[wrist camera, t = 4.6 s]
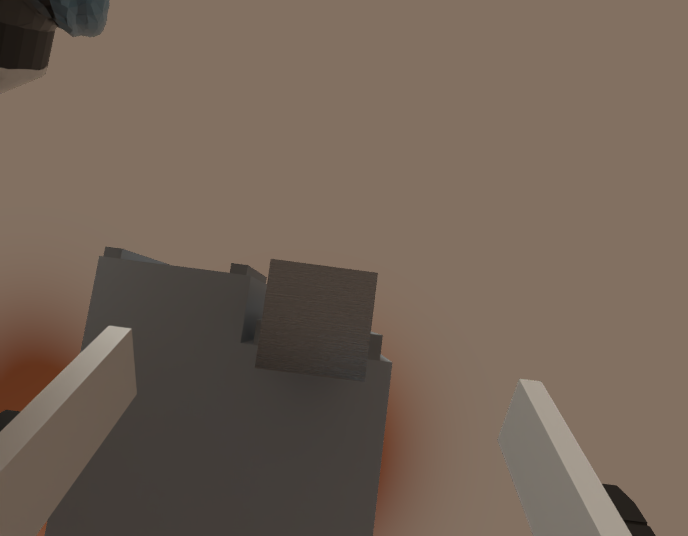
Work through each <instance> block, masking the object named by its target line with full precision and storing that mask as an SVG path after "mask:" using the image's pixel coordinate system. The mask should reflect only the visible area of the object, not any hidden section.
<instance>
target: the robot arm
mask: <svg viewBox="0 0 688 536" xmlns="http://www.w3.org/2000/svg"><path fill="white" fill-rule="evenodd" d="M108 9H109V0H0V94H1V93H4V92H6V91H8V90H11V89H13V88H16V87H18V86H21V85H23V84H26V83H28V82H30V81H33V80H35V79H38V78H40V77H42V76H43V75H44V74H45V73H46V70H47V66H48V62H49V57H50V52H51V47H52V42H53V38H54V33H55V29H56V28H57V27H59V28H61V29H63V30H65V31H66V32H67V33H69V34H70V35H71V36H72V37H76V36H80V35H82V36H88V37H95V36H97V35H100V34H101V32H102V31H103V30H104V27H105V25H106V20H107V13H108ZM136 395H137V388H136V376H135V363H134V351H133V338H132V328H124V327H116V326H108V327H107V328H106V329H105V330H104V331H103V332H102V333H101V334H100V335H99V336H98V337H97V338H96V339H95V340H93V341H92V342H91V343H90V344H89V345H88V346H87V347H86V348H85V349H84V350H83V351H82V352H81V353H80V354H79V355H78V356H77V357H76V358H75V359H74V360H73V361H72V362H71V363H70V364H69V365H68V366H67V367H66V368H65V369H64V370H63V371H62V372H61V373H60V374H59V375H58V376H57V377H56V378H55V379H54V380H53V381H52V382H51V383H50V384H49V385H48V386H47V387H46V388H45V389H43V390H42V391H41V392H40V393H39V394H38V395H37V396H36V397H35V398H34V399H33V400H32V401H31V402H30V403H29V404H28V405H27V406H26V407H25V408H24V409H23V410H22V411H21V412H19V411H11V410H5V411H3V412H1V413H0V536H36V535H37V533H38V532H39V531H40V529H41V528H42V527H43V525H44V524H45V522H46V521H47V520H48V518H49V517H50V515H51V514H52V513H53V511H54V510H55V508H56V507H57V506H58V504H59V503H60V501H61V500H62V499H63V497H64V496H65V494H66V493H67V492H68V490H69V489H70V487H71V486H72V485H73V483H74V482H75V480H76V479H77V477H78V476H79V475H80V473H81V472H82V470H83V469H84V468H85V466H86V465H87V463H88V462H89V461H90V459H91V458H92V456H93V455H94V454H95V452H96V451H97V449H98V448H99V447H100V445H101V444H102V442H103V441H104V440H105V438H106V437H107V435H108V434H109V432H110V431H111V430H112V428H113V427H114V425H115V424H116V423H117V421H118V420H119V418H120V417H121V416H122V414H123V413H124V411H125V410H126V409H127V407H128V406H129V404H130V403H131V402H132V400H133V399H134V397H135V396H136ZM497 440H498V443H499V446H500V448H501V451H502V454H503V456H504V459H505V462H506V464H507V467H508V470H509V472H510V475H511V478H512V481H513V483H514V486H515V488H516V491H517V494H518V497H519V499H520V502H521V505H522V507H523V510H524V512H525V515H526V518H527V521H528V523H529V526H530V529H531V531H532V534H533V536H655V534H654V532H653V531H652V529H651V528H650V527H649V526H647V522H646V520H645V518H644V517H643V515H642V514H641V512H640V511H639V509H638V508H637V506H636V504H635V503H634V502H633V501H632V500H631V499H630V498H629V497H628V496H627V495H626V494H625V493H624V492H623V491H622V490H621V489H620V488H619V487H618V486H615V485H607V484H601V482H600V480H599V479H598V477H597V475H596V473H595V472H594V470H593V469H592V467H591V465H590V463H589V462H588V460H587V458H586V456H585V455H584V453H583V451H582V450H581V448H580V446H579V445H578V443H577V441H576V440H575V438H574V436H573V435H572V433H571V431H570V429H569V428H568V426H567V424H566V423H565V421H564V419H563V417H562V416H561V414H560V413H559V411H558V409H557V407H556V406H555V404H554V402H553V401H552V399H551V397H550V396H549V394H548V392H547V390H546V389H545V387H544V385H543V384H542V382H540V381H532V380H525V379H519V381H518V383H517V386H516V389H515V392H514V395H513V398H512V400H511V403H510V406H509V408H508V411H507V415H506V417H505V420H504V423H503V425H502V428H501V431H500V434H499V437H498V439H497Z"/></svg>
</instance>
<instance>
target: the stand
mask: <svg viewBox="0 0 688 536" xmlns="http://www.w3.org/2000/svg"><path fill="white" fill-rule="evenodd" d="M266 289H267V284H266V277H265V276H264V275H262V274H260V273H259V272H257V271H256V270H254V269H253V268H251V267H250V266H248V265H242V264H234V263H231V269H230V273H226V272H218V271H210V270H203V269H195V268H187V267H180V266H172V265H169V264H166V263H163V262H160V261H157V260H154V259H151V258H148V257H145V256H142V255H139V254H136V253H133V252H130V251H127V250H124V249H120V248H111V247H105V252H104V257H103V256H99V260H98V266H97V271H96V276H95V281H94V286H93V291H92V296H91V301H90V306H89V312H88V316H87V322H86V327H85V332H84V337H83V342H82V347H81V352H82V351H83V350H84V349H85V348H86V347H87V346H88V345H89V344H90V343H91V342H92V341H93V340H95V339H96V338H97V337H98V336H99V335H100V334H101V333H102V332H103V331H104V330H105V329H106V328H107V327H108V326H116V327H124V328H132V338H133V351H134V363H135V376H136V388H137V395H136V396H135V397H134V399H133V400H132V402H131V403H130V404H129V406H128V407H127V409H126V410H125V411H124V413H123V414H122V416H121V417H120V418H119V420H118V421H117V423H116V424H115V425H114V427H113V428H112V430H111V431H110V432H109V434H108V435H107V437H106V438H105V440H104V441H103V442H102V444H101V445H100V447H99V448H98V449H97V451H96V452H95V454H94V455H93V456H92V458H91V459H90V461H89V462H88V463H87V465H86V466H85V468H84V469H83V470H82V472H81V473H80V475H79V476H78V477H77V479H76V480H75V482H74V483H73V485H72V486H71V487H70V489H69V490H68V492H67V493H66V494H65V496H64V497H63V499H62V500H61V501H60V503H59V504H58V506H57V507H56V508H55V510H54V511H53V513H52V514H51V515H50V517H49V518H48V521H47V526H46V531H45V536H373V528H374V520H375V511H376V502H377V493H378V484H379V476H380V467H381V457H382V448H383V440H384V431H385V422H386V414H387V404H388V396H389V387H390V378H391V369H392V362H391V361H390V360H388V359H387V358H385V357H384V356H382V355H381V345H382V335H380V334H377V333H374V332H371V334H370V342H369V350H368V359H367V367H366V376H365V382H361V381H353V380H345V379H337V378H329V377H321V376H313V375H305V374H297V373H289V372H281V371H273V370H265V369H258V368H255V363H256V356H257V349H258V342H259V336H260V329H261V322H262V316H263V309H264V302H265V295H266ZM81 352H80V353H81Z"/></svg>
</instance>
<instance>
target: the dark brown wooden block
mask: <svg viewBox="0 0 688 536" xmlns="http://www.w3.org/2000/svg"><path fill="white" fill-rule="evenodd" d="M377 275H378V273H374V272H366V271H359V270H351V269H344V268H336V267H328V266H321V265H313V264H306V263H298V262H290V261H283V260H275V259H271V262H270V269H269V276H268V283H267V289H266V295H265V302H264V309H263V316H262V322H261V329H260V336H259V342H258V349H257V356H256V363H255V368H258V369H265V370H273V371H281V372H289V373H297V374H305V375H313V376H321V377H329V378H337V379H345V380H353V381H361V382H365V376H366V367H367V359H368V350H369V342H370V334H371V325H372V317H373V309H374V300H375V291H376V283H377Z"/></svg>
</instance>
